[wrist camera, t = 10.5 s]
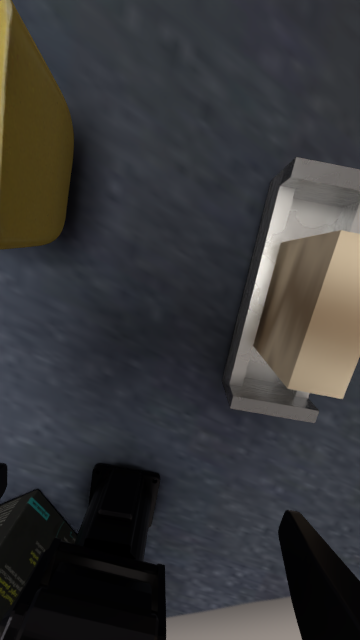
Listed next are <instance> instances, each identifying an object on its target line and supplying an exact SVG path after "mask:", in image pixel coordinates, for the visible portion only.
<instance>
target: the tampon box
mask: <svg viewBox="0 0 360 640" xmlns="http://www.w3.org/2000/svg"><path fill="white" fill-rule="evenodd" d="M55 537H56V538H60V539H62V541H65V542H69V543H73V544H74V543H75V540H76V538H77V535H76V534H75V533H74V532H73V530H72V529H71V528H70V527H69V526H68V525H67V523H66V522H65V521H64V520H63V519H62V518H61V516H60V515H59V514H58V513H57V512H56V511H55V509H54V508H53V507H52V506H51V505H50V503H49V502H48V501H47V500H46V499H45V497H44V496H43V495H42V494H41V493H40V491H39V490H35V491H33V492H31V493H28V494H26V495H24V496H22V497H19V498H17V499H14V500H12V501H10V502H7V503H5V504H3V505H0V622H1V620H2V619H3V617H4V615H5V614H6V612H7V611H8V609H9V608H10V606H11V605H12V603H13V602H14V600H15V599H16V597H17V596H18V594H19V593H20V591H21V590H22V588H23V587H24V585H25V584H26V582H27V580H28V579H29V577H30V575H31V573H32V571H33V569H34V567H35V565H36V563H37V561H38V559H39V557H40V555H41V553H42V552H45V550H46V549H49V547H50V545H51V544H52V542H53V540H54V538H55Z"/></svg>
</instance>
